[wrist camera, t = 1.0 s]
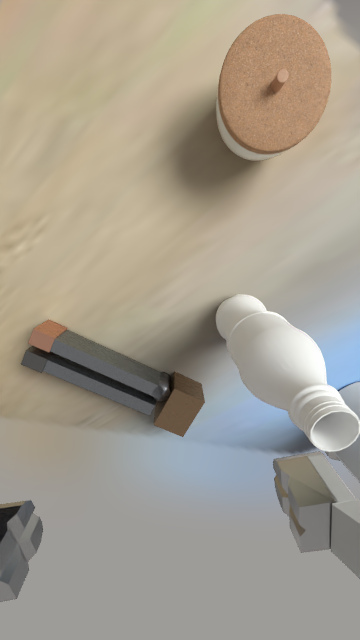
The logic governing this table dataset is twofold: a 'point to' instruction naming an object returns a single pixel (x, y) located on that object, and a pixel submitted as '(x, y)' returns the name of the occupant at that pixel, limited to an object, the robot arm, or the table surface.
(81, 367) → the tong base
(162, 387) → the tong arm
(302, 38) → the lidded jar
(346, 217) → the table surface
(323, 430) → the water bottle
